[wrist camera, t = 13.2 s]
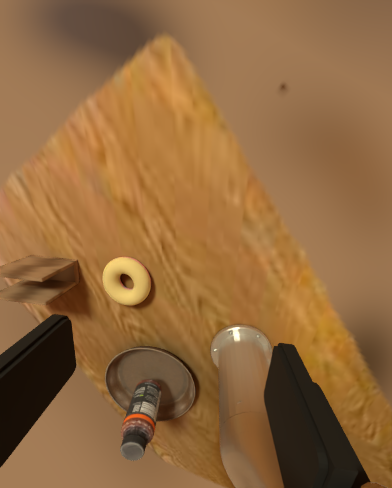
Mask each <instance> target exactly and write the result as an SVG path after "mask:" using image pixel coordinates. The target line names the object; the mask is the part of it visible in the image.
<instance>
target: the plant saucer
mask: <svg viewBox="0 0 392 488" xmlns="http://www.w3.org/2000/svg"><path fill="white" fill-rule="evenodd" d="M145 379H151V380H154V381H156V382H157V383H159V385H160V386H161V389H162V396H161V402H160V406H159V411H158V416H157V421H168V420H172V419H175V418H177V417H180V416H181V415H183V414H184V413H185V412H187V411H188V409H189V408H190V407H191V405H192V403H193V401H194V398H195V385H194V381H193V379H192V376H191V374H190V372H189V371H188V369H187V368H186V366H185V365H184V364H183V363H182V362H181V361H180V360H179V359H178V358H177V357H176V356H174V355H173V354H171V353H169V352H168V351H165V350H163V349H160V348H156V347H150V346H140V347H134V348H131V349H128V350H125V351H123V352H121V353H120V354H118V355H117V356H115V357H114V358H113V359H112V360H111V362H110V363H109V365H108V366H107V369H106V373H105V383H106V387H107V390H108V392H109V394H110V396H111V397H112V399H113V400H114V401H115V403H116V404H117V405H118V406H119V407H121V408H122V409H123V410H125V411H126V412H127V411H128V408H129V405H130V402H131V399H132V396H133V393H134V391H135V388H136V386H137V384H138V383H139V382H140V381H142V380H145Z"/></svg>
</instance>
